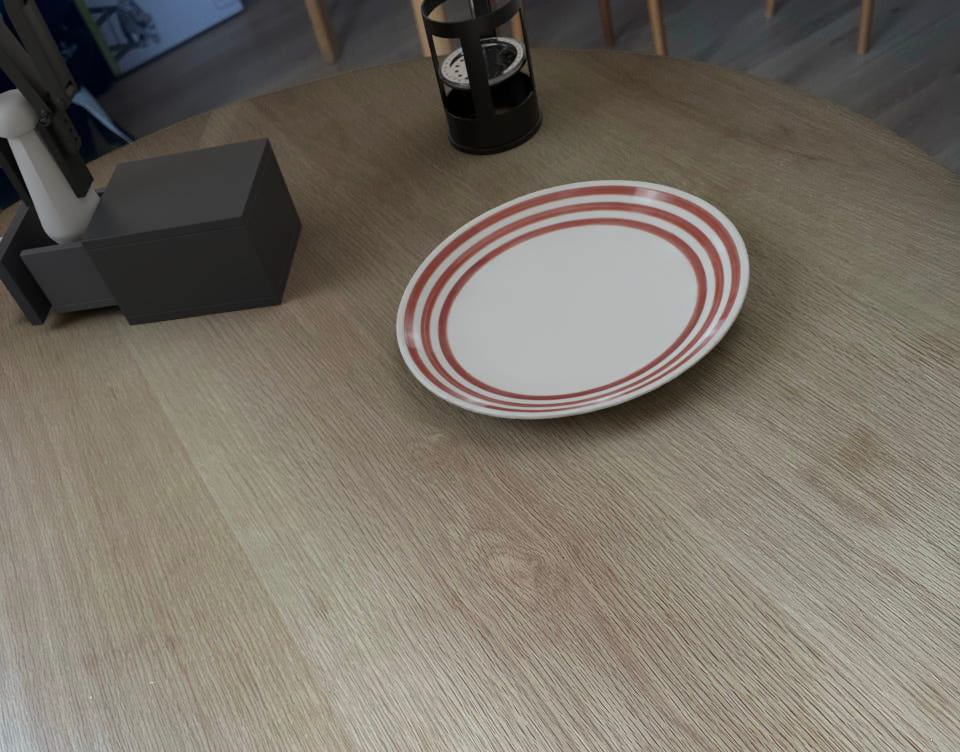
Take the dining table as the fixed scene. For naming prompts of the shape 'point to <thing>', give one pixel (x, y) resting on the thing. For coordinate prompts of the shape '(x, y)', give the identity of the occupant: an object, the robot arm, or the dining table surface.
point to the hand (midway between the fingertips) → (60, 192)
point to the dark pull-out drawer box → (48, 270)
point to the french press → (485, 79)
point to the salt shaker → (44, 173)
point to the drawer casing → (195, 233)
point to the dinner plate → (573, 299)
